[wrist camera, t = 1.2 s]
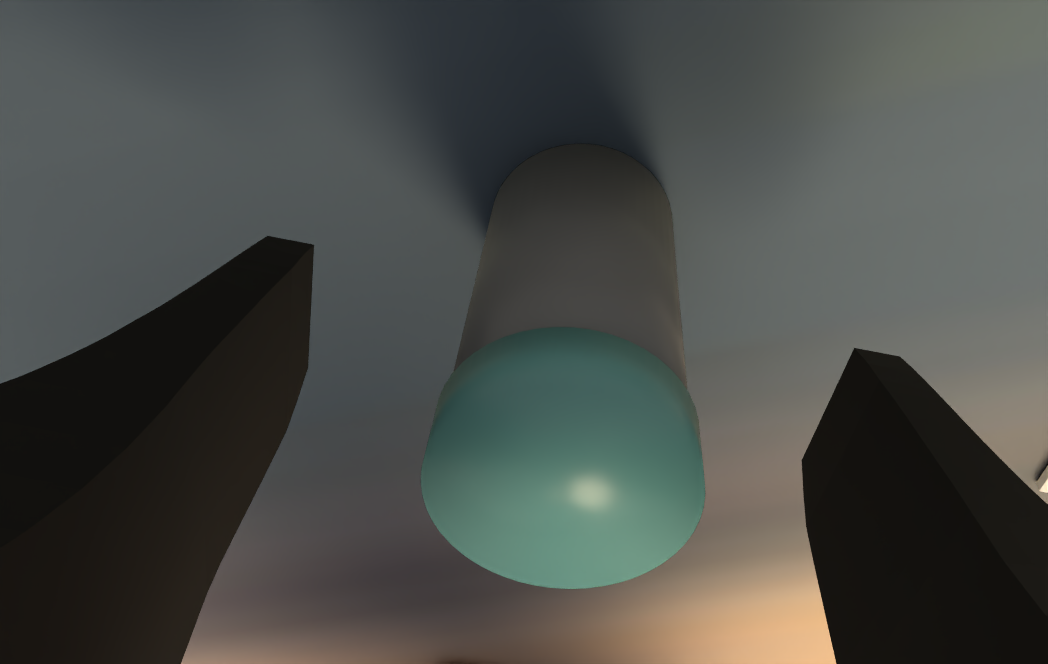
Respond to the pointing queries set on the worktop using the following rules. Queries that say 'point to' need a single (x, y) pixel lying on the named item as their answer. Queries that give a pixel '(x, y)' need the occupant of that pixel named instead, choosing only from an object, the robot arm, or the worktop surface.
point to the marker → (570, 383)
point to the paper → (1043, 481)
